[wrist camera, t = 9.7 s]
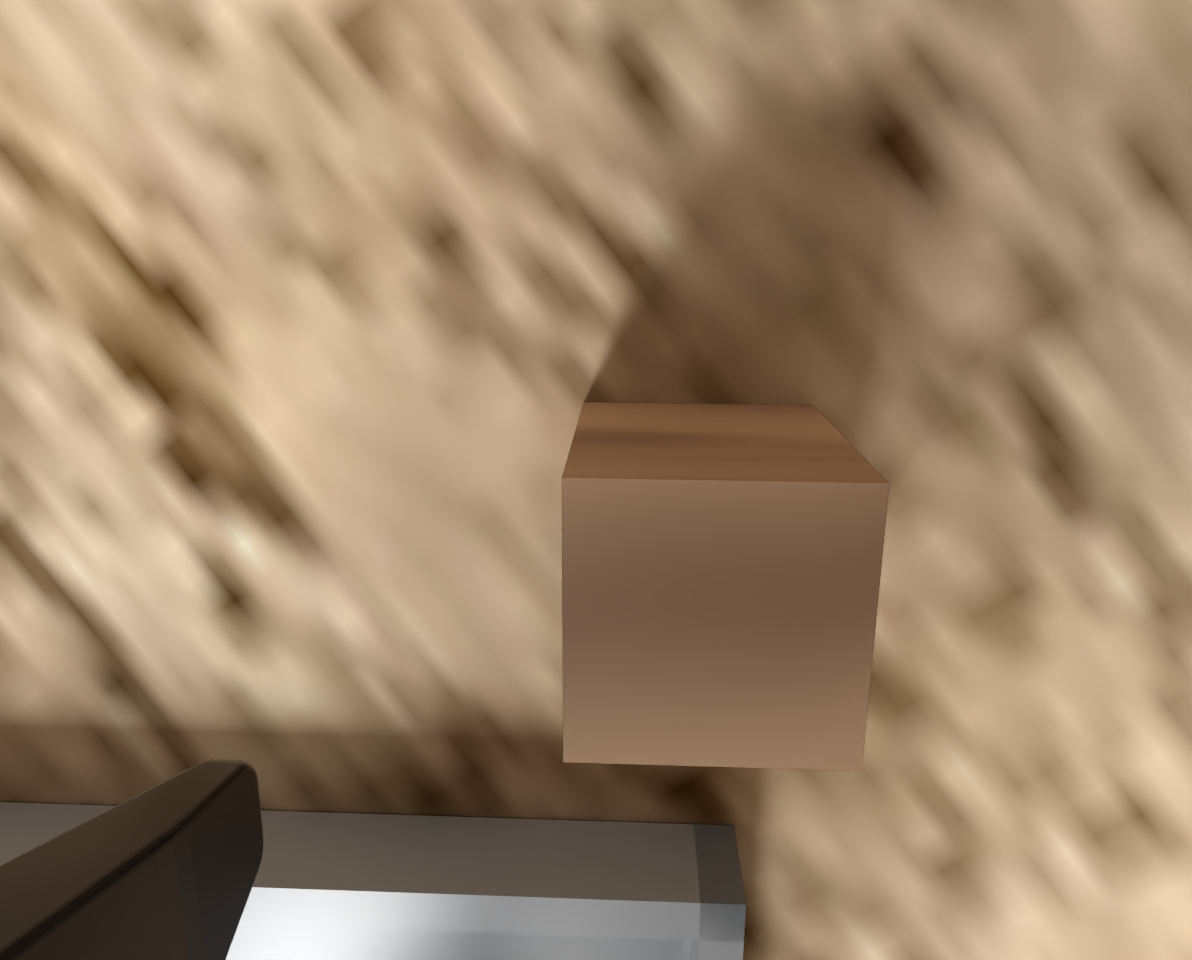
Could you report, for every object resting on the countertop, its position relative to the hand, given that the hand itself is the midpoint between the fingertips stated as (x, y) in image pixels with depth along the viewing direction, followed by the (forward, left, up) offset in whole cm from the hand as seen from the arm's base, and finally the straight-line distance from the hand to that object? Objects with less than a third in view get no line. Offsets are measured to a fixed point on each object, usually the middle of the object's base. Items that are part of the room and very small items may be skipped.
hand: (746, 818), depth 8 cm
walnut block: (0, 0, -9) cm, 9 cm away
